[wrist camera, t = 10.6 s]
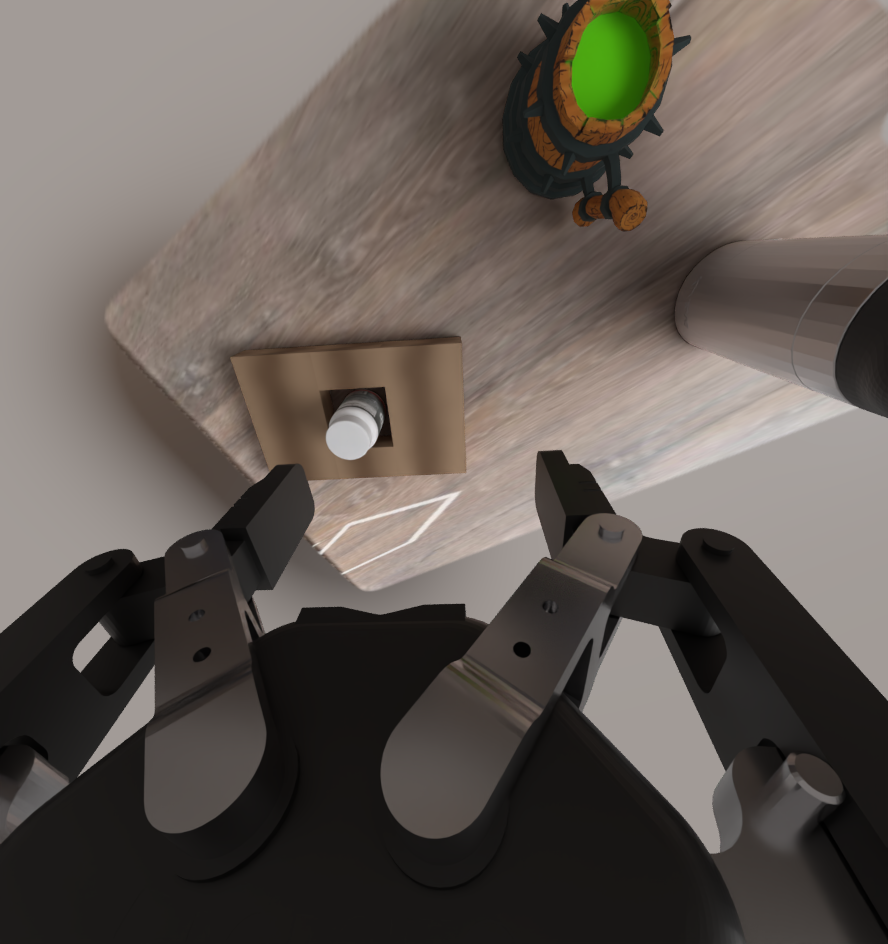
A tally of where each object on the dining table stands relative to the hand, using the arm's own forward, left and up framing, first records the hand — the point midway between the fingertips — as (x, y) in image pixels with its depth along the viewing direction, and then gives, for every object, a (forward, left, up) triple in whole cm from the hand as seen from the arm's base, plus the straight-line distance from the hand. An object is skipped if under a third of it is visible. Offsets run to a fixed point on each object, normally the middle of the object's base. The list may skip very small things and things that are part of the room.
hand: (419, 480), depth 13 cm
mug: (-11, -13, -28) cm, 33 cm away
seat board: (+9, +8, -28) cm, 30 cm away
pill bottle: (+9, +7, -28) cm, 30 cm away
